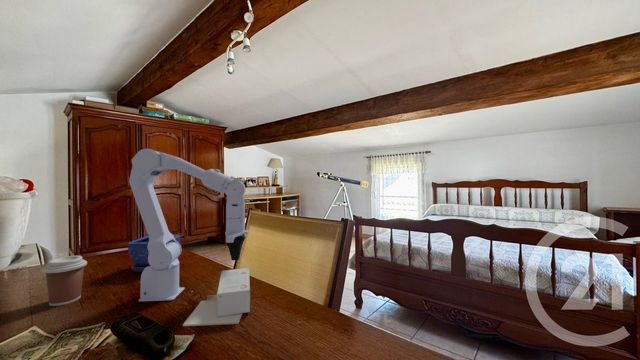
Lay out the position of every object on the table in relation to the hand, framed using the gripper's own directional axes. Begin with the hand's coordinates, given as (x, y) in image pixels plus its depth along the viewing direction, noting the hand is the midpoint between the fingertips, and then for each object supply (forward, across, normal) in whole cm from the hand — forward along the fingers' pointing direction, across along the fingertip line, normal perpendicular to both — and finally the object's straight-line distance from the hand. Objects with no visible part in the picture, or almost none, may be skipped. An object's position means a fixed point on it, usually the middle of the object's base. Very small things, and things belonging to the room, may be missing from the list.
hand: (235, 259), depth 81 cm
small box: (+4, -4, -1) cm, 6 cm away
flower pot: (+10, +22, +36) cm, 43 cm away
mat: (+9, -14, +1) cm, 17 cm away
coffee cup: (+10, -4, +47) cm, 48 cm away
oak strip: (+9, -8, 0) cm, 12 cm away
